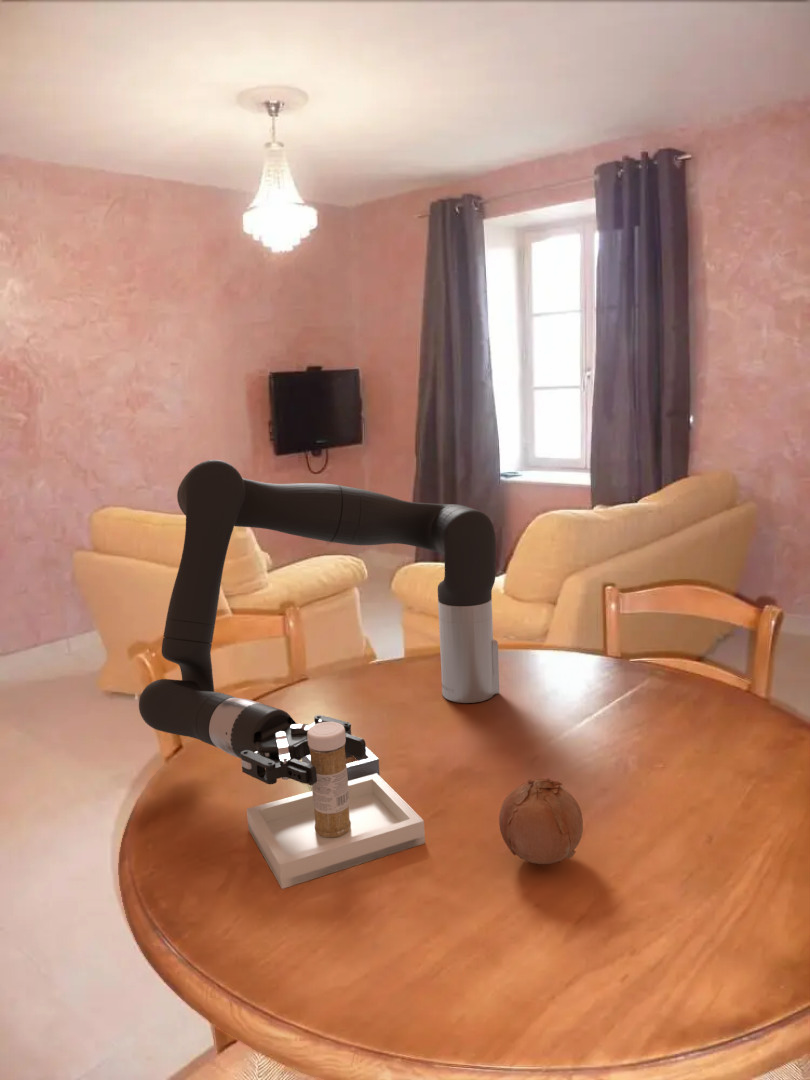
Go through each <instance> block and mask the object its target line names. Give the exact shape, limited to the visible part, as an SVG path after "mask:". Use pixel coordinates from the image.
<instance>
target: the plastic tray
mask: <svg viewBox="0 0 810 1080" xmlns="http://www.w3.org/2000/svg"><path fill="white" fill-rule="evenodd" d="M348 791H349V820H350V822H351V827H350V829H349V830H348V831H347V832H346V833H345V834H343V835H341V836H337V837H324V836H321V835H319V834H318V833H317V832H316V831H315V813H314V806H313V793H312V790H311V791H307V792H303V793H299V794H296V795H292V796H289V797H285V798H280V799H277V800H274V801H271V802H266V803H262V804H258V805H255V806H253V807H247V808H246V817H247V829H248V831H249V834H250V835H251V837H252V838H253V840H254V842H255V844H256V845H257V847H258V849H259V852H260V853H261V854H262V857H263V858H264V860H265V862H266V863H267V866H268V867H269V869H270V871H271V872H272V874H273V876H274V877H275V879H276V881H277V883H278V885H279V886H280V888H281V889H282V890H284V889H286V888H290V887H292V886H296V885H300V884H302V883H305V882H308V881H312V880H315V879H319V878H321V877H324V876H327V875H330V874H334V873H336V872H340V871H342V870H345V869H348V868H353V867H355V866H358V865H359V866H360V865H361V864H365V863H368V862H372V861H374V860H377V859H380V858H383V857H387V856H390V855H393V854H395V853H398V852H402V851H405V850H409V849H411V848H415V847H417V846H421V845H425V844H426V839H425V838H426V836H425V820H424V819H423V818H422V817H421V816H420V815H419V814H418V813H417V812H416V811H415V810H414V809H413V808H412V807H411V806H410V805H409V804H408V803H407V802H406V801H405V800H404V799H403V798H402V797H401V796H400V795H399V794H398V793H397V792H396V790H394V789H393V788H392V787H391V786H390V785H389V783H387V782H386V780H384V779H383V778H382V777H381V776H380V775H378V774H377V773H376V774H372V775H369V776H365V777H361V778H358V779H354V780H350V781H348Z"/></svg>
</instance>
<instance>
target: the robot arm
mask: <svg viewBox="0 0 810 1080" xmlns="http://www.w3.org/2000/svg"><path fill="white" fill-rule="evenodd" d="M178 486H179V487H178V488H177V494H176V495H177V496H176V498H177V503H178V506H179V509H180V510H181V512H182V513H183V515H185V532H184V534H185V535H184V541H183V547H182V548H183V549H182V554H181V559H180V562H179V567H178V571H177V573H176V578H175V581H174V584H173V587H172V592H171V595H170V599H169V604H168V608H167V613H166V619H165V624H164V629H163V630H164V631H163V638H162V643H161V655H162V657H163V658H164V659H165V660H166V661H169V662H171V663H174V664H177V665H178V666H179V669H180V674H181V679H170V678H169V679H168V678H161V679H156V680H154V681H152V682H151V683H149V684H147V686H145V688H143V690H142V692H141V694H140V697H139V699H138V710H139V715H140V717H141V718H142V720H143V721H144V722H145V723H146V724H147V725H148V726H149V727H150V728H152V729H154V730H156V731H159V732H163V733H167V734H173V735H178V736H183V737H188V738H192V739H193V738H194V739H196V740H199V741H201V742H203V743H205V744H207V745H211V746H212V747H216V748H218V749H220V750H222V751H224V752H225V753H226V754H228V755H231V756H234V757H235V758H238V759H240V761H241V762H240V763H241V770H242V773H243V774H246V775H247V776H250V777H251V778H254V779H256V780H258V781H260V782H262V783H265V784H267V785H269V786H270V785H275V784H277V782H278V779H282V780H284V781H287V780H293V781H296V782H298V783H300V784H306V785H309V786H312V785H313V784H315V783H316V782H317V773H316V768H315V767H314V766H313V765H310V764H308V763H305V762H302V758H303V757H305V756H308V755H310V749H309V746H308V738H307V731H308V729H309V728H310V727H311V726H313V725H315V724H317V723H321V722H337V723H340V724H342V725H343V726H344V728H345V736H346V742H345V752H346V753H349V754H352V755H354V756H357V757H362V756H364V755H366V747H367V746H366V741H365V739H364V738H362V737H359V736H356V735H352V723H351V722H349V721H346V720H345V721H344V720H341V719H337V718H333V717H330V716H326V715H323V714H317V715H316V714H315V715H314V717H313V718H314V719H313V720H314V722H313V723H311V724H307V723H297V722H296V721H295V720H294V719H293V718H292V716H291V715H290V714H289V713H288V712H287V711H286V710H283V709H279V708H276V707H273V706H270V705H267V704H264V703H261V702H258V701H254V700H251V699H248V698H241V697H240V698H239V697H236V696H233V695H230V694H228V693H223V692H219V691H215V687H214V686H215V685H214V676H213V674H214V673H213V664H212V655H211V653H212V652H211V650H212V644H213V640H214V633H215V627H216V626H215V625H216V620H217V614H218V613H217V612H218V607H219V599H220V591H221V584H222V578H223V571H224V566H225V562H226V559H227V558H226V557H227V553H228V549H229V544H230V541H231V537H232V534H233V532H234V528H235V527H236V528H237V527H240V528H254V529H256V528H257V529H264V530H269V531H270V530H271V531H275V532H279V533H284V534H288V535H292V536H297V537H302V538H306V539H311V540H317V541H322V542H323V541H324V542H328V543H335V544H343V545H348V546H379V545H390V544H399V545H407V546H412V547H417V548H421V549H425V550H429V551H432V552H434V553H438V554H440V555H443V556H444V577H443V580H442V581H440V582H439V584H438V585H437V603H438V604H437V605H438V609H437V610H438V626H439V627H438V629H439V649H440V652H439V653H440V666H441V667H440V670H441V694H442V696H443V698H444V699H446V700H448V701H451V702H454V703H461V704H470V703H471V704H472V703H473V704H474V703H480V702H485V701H486V700H489V699H491V698H493V696H494V695H497V694H500V670H499V669H500V668H499V667H500V666H499V665H500V663H499V659H500V658H499V641H498V640H497V639H494V626H493V602H492V601H493V598H492V597H493V596H492V593H493V592H492V591H493V587H494V585H495V582H496V570H497V569H496V567H497V566H496V565H497V564H496V563H497V558H496V557H497V556H496V555H497V543H496V542H497V541H496V532H495V527H494V525H493V524H494V523H493V522H492V520H491V518H490V517H489V516H488V515H487V514H485V513H484V512H482V511H480V510H478V509H475V508H472V507H469V506H466V505H462V504H456V503H455V504H454V503H453V504H452V503H451V504H449V503H427V502H425V503H424V502H414V501H413V502H412V501H407V500H403V499H399V498H395V497H392V496H390V495H385V494H382V493H379V492H375V491H370V490H367V489H363V488H356V487H351V486H345V485H339V484H334V483H333V484H332V483H322V482H321V483H317V482H316V483H315V482H313V483H311V482H309V483H307V482H306V483H304V482H302V483H270V482H269V483H268V482H264V481H263V482H262V481H257V480H253V479H248V478H243V476H242V475H241V473H240V472H239V470H237V468H236V467H234V466H233V464H230V463H228V462H226V461H224V460H221V459H220V460H219V459H208V460H204V461H202V462H200V463H198V464H196V465H194V467H192V468H191V469H190V470H189V471H188V472H187V473H186V475H185V476H184V477H183V478H182V480H181V482H180V483H179V485H178Z"/></svg>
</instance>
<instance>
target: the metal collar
mask: <svg viewBox="0 0 810 1080" xmlns="http://www.w3.org/2000/svg"><path fill="white" fill-rule="evenodd" d="M350 756H351V757H353V756H354V755H352V754H349V753H346V752H345V757H348V758H351V757H350ZM354 757H355V758H356V759H357V760H358V761H357V760H356V759H355V758H354V759H355V761H353V762H349V763H346V764H347V776H348V781H350V780H354V779H358V778H361V777H365V776H369V775H372V774H376V773H377V774H378V775H379V776H380V762H379V761H380V759H379V757H377V755H375V754H374V753H373V752H372V751H371V750H370V749H369V748H368V747H367V746H366V755H364V756H362V757H357V756H354ZM301 761H302V762H305V763H308V764H310V765H311V757H310V755H308V756H305V757H303V758H302V759H301Z"/></svg>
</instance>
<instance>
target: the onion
mask: <svg viewBox="0 0 810 1080" xmlns="http://www.w3.org/2000/svg"><path fill="white" fill-rule="evenodd" d="M562 785H563V783H562V782H560V781H559V780H552V779H551V778H546V779H545V778H538V779H536V780H532V779H531V780H528V781H526V782H525V783H522V784H521V785H518V786H517V787H516V788H515V789H513V790H512V791H510V792H509V793H508V794H507V796H506V797H505V799H504V801H503V802H502V804H501V807H500V812H499V816H498V817H499V818H498V820H499V821H498V822H499V823H498V824H499V831H500V834H501V836H502V838H503V839H502V840H503V842H504V843H505V845H506V846H507V848H508V849H509V851H510V853H512V855H513V856H514V857H515V856H518V858H520V859H521V860H524V861H525V862H528V863H531V864H535V865H536V866H538V865H550V864H551V865H552V864H555V863H560V861H563V860H564V859H566V858H567V859H568V860H571V859H572V858H573V857H574V855H575V854H576V851H575V850H576V849H577V848H578V846H579V844H580V842H581V839H582V837H583V830H584V828H583V827H584V824H583V823H584V821H583V813H582V810H581V808H580V806H579V803H578V801H577V800H576V799H575V797H574V796H573V795H572V793H570V792H569V791H568V790H567V789H566V788H565V787H563V786H562Z"/></svg>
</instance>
